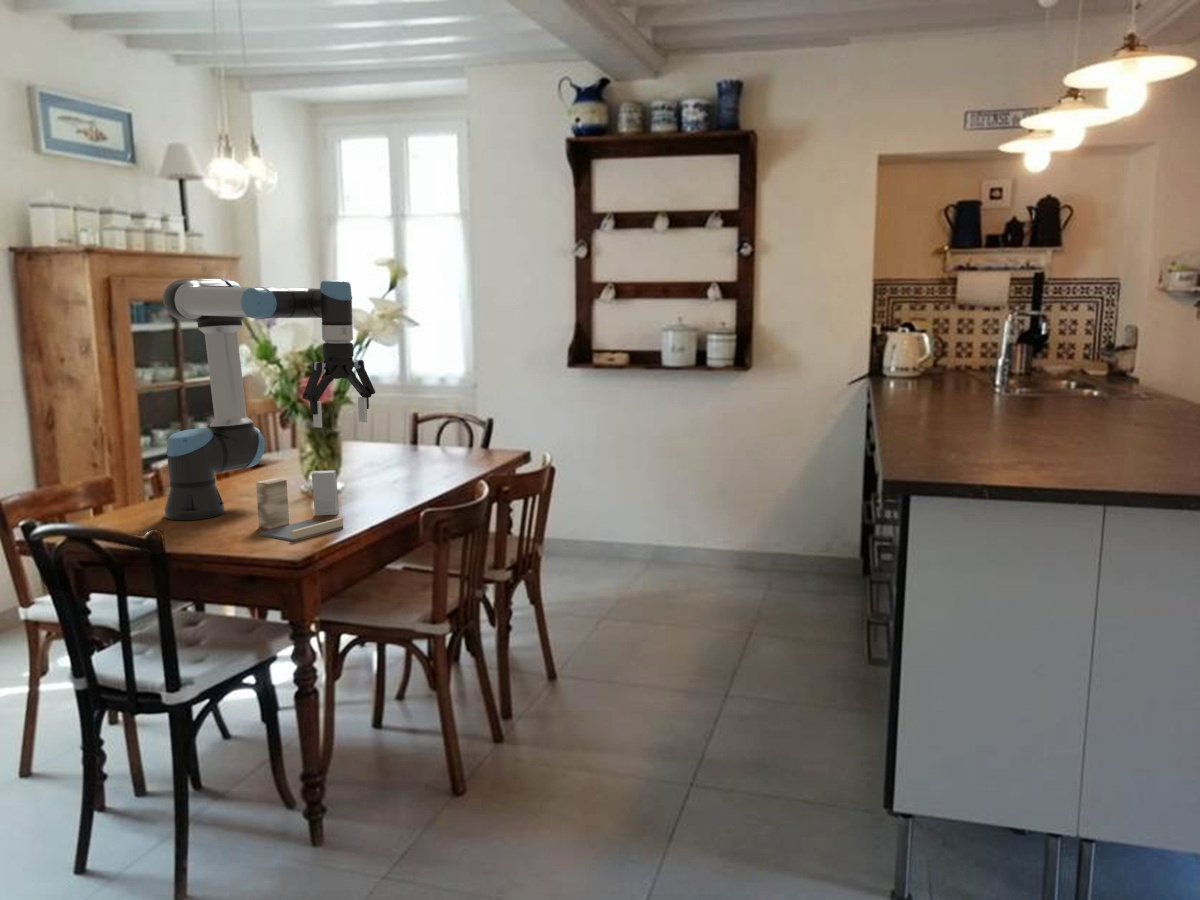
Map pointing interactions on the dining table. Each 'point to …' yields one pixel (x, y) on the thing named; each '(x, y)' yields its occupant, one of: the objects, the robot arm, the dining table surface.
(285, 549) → the dining table surface
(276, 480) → the beech block
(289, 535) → the slate mat
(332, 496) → the skincare box
